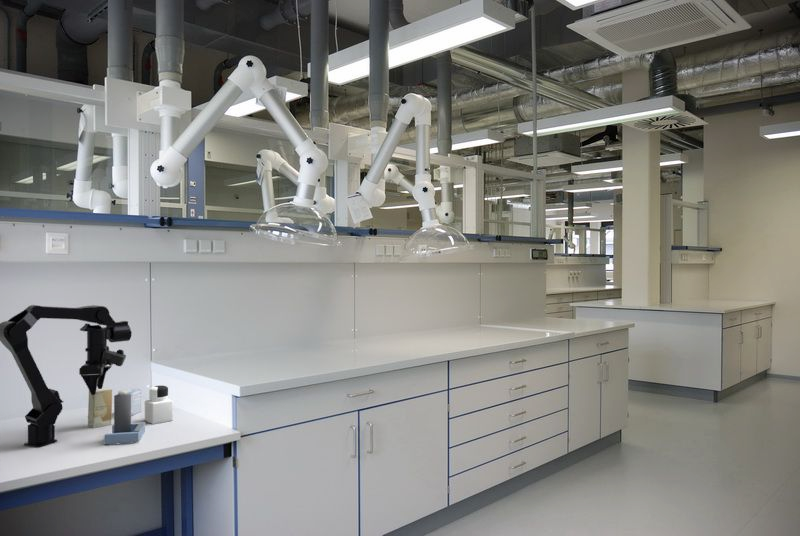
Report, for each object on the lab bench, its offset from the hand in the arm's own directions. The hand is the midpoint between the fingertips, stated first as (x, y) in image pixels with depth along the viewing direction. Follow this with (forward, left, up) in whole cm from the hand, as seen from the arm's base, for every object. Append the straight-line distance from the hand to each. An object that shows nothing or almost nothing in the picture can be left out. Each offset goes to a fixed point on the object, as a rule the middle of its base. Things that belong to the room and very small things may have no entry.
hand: (96, 391), depth 194 cm
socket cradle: (-3, -14, -13) cm, 19 cm away
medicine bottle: (+18, -9, -13) cm, 24 cm away
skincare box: (+6, +5, -13) cm, 15 cm away
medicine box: (+21, +7, -13) cm, 26 cm away
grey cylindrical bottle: (-3, -14, -12) cm, 19 cm away
